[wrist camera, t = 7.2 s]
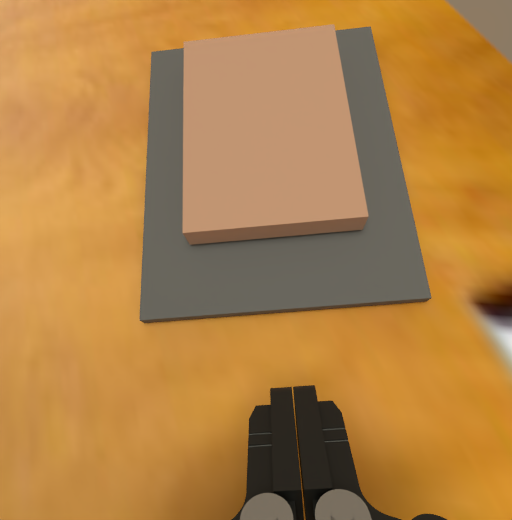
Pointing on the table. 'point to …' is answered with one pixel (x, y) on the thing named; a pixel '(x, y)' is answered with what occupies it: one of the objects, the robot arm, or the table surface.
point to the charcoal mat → (289, 247)
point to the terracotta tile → (268, 138)
